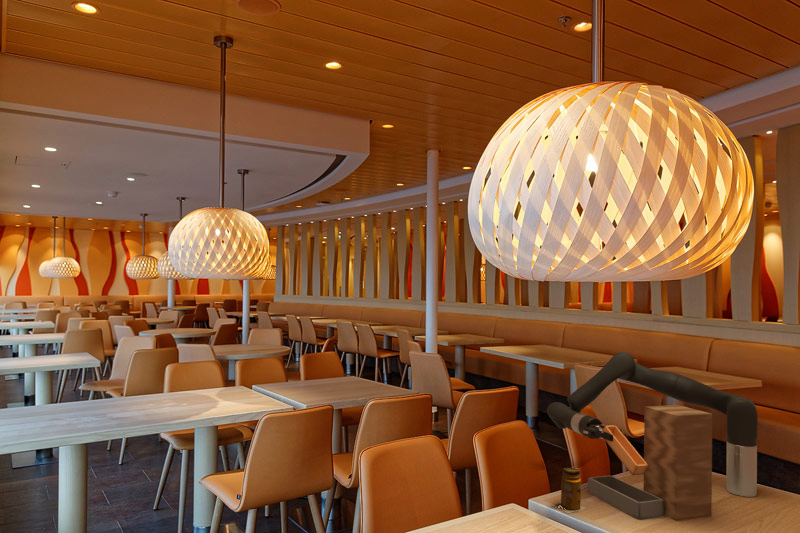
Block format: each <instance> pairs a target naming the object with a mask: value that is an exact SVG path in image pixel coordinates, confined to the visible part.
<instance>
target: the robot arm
mask: <svg viewBox="0 0 800 533" xmlns="http://www.w3.org/2000/svg"><path fill="white" fill-rule="evenodd" d="M618 379H620V380H623V381H625V382H626V381H627V382H631V383H634V384H637V385H641V386H643V387H646V388H648V389H651V390H652V391H655V392H657V393H659V394H662V395H665V396H667V397H670V398H672V399H675V400H678V401H680V402H683V403H687V404H691V405H695V406H700V407H705V408H708V409H712V410H714V411H717V412H719V413H721V414H724V415H726V481H725V482H726V486H725V487H726V488H725V489H726V491H727V492H728V493H730V494H733V495H737V496H741V497H747V498H748V497H749V498H750V497H753V498H754V497H757V491H758V490H757V482H758V479H757V478H758V477H757V476H758V468H757V467H758V463H757V462H758V444H757V443H758V418H759V417H758V410H757V407H756V404H755V403H754V402H753V401H752V400H751V399H749V398H748V397H745V396H741V395H737V394H733V393H729V392H726V391H722V390H719V389H716V388H714V387H711V386H709V385H707V384H705V383H703V382H700V381H698V380H695V379H693V378H691V377H688V376H685V375H682V374H679V373H676V372H672V371H668V370H660V369H653V368H649V367H647V366H644V365H642V364H640V363H639V362H636V361H635V358H634V357H633V355H631V354H630V353H628V352H625V351H619V352H617V353H615V354H613V356H612V357H611V358H610V359H609V360H608V361H607V362H606V364H605V365H604V366H603V367H602V368H601V369H600V370H599V371H598V372H597V373H596V374H595V375H593V376H592V377H591V378H590V379H589V380H588V381H586V382H585V383H583V384H582V385H581V386H579V387H578V388H577V389H576V390H574V391H573V392H572V393H571V394H569V395H568V397H567V398H566V399H567V402H568V404H569V406H568V405H566V404H565V403H562V402H558V401H556V402H555V401H554V402H552V403H550V404H549V405H548V406H547V409H546V412H547V416H548V417H549V418H550V420H551V421H552V422H553V423H554V425H555V426H556V427H557V428H558V429H560V430H563V429H564V430H565V429H569V430H570V431H573V432H576V433H577V434H579V435H581V436H584V437H586V438H589V439H591V440H595V439H596V440H598V439H601V440H605V439H606V440H608V441H613V435H612V434H609V433H607V432H604V431H602V430H603V428H604V426H607V425H606V424H603V423H602V421H601V420H600V419H599V418H597V417H594V416H591V415H588V414H586V413H581V412H582V411H583V410H584V409H585V408H587V406H589V405H590V404H592V403H593V402H594V401H595V400H596V399H597V398H598V397H599V396H600V395H601V394H602V393H603V391H605V390H606V388H608V387H609V386H610V385H611V384H612V383H613V382H615V381H616V380H618ZM617 428H618V429H619V430H620V431H621V432H622V431H623V429H621V428H619V427H618V426H617ZM622 434H623V435H624V436H625V437H626V434H625V433H624V432H622ZM626 438H627V437H626Z"/></svg>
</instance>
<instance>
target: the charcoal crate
mask: <svg viewBox="0 0 800 533" xmlns="http://www.w3.org/2000/svg"><path fill="white" fill-rule="evenodd" d="M587 493H588V494H590V495H591V496H594V497H596V498H597V499H600V500H602V501H603V502H605V503H607V504H609V505H610V506H612V507H614V508H616V509H617V510H619V511H622V512H623V513H625V514H627V515H629V516H631V517H633V518H634V519H637V520H638V521H639V520H646V519H654V518H663V517H665V515H664V501H665V500H663V499H661V498H659V497H657V496H655V495H653V494H650V493H648V492H646V491H644V489H642V488H640V487H637V486H635V485H633V484H631V483H629V482H627V481H625V480H622V479H621V478H618V477H617V476H614V475H611V474H609V475H602V476H601V475H600V476H592V477H587Z"/></svg>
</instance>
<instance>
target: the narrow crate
mask: <svg viewBox="0 0 800 533" xmlns="http://www.w3.org/2000/svg"><path fill="white" fill-rule="evenodd" d="M617 427H618V426H617V425H615V424H612V425H606V426H604V428H603V430H602V431H604V432H607V433H609V434H612V435H613V441H608V440H606V439H604V441H605V442H606V444H608V446H609V447H610V448H611V450H612V451H613V452H614V453H615V455H616V456H617V458H618V459H619V460H620V462H621V463H622V464H623V465H624V467H625V468H626V469H627V471H628V472H629V473H630V475H632V476H639V475H644V472H645V470H646V469H647V467H648V464H647V463H646V462H645V461H644V457H642V455H640V453H639V452H638V451H637V449H636V448H635V447H634V446H633V445H632V444H631V442H630V441H629V440H628V438H627V437H625V436H624V435H623V434H622V433H623V432H621V431H620V430H619V429H620V428H619V427H618V428H619V429H618V428H617Z"/></svg>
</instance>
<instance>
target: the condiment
mask: <svg viewBox="0 0 800 533" xmlns="http://www.w3.org/2000/svg"><path fill="white" fill-rule="evenodd" d="M580 476H581V471H580V470H579V469H578V468H575V467H564V468H563V469H562V476H561V479H560V480H561V482H560V483H561V484H560V485H561V487H560V490H561V492H560V502H558V503H555V504H551V505H550V506H551V507H553V508H555V509H557V510H559V511H562V512H563V513H567V514H570V513H575V512H579V511H583V510H586V509H587V508H586V507H584V506H582V505H581V494H582V492H581V491H582V480H581V477H580ZM559 505H561V506H562V507H563V509H562V508H561V507H560V508H558V506H559ZM564 508H565V509H566V510H565V509H564ZM569 510H570V511H569Z"/></svg>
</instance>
